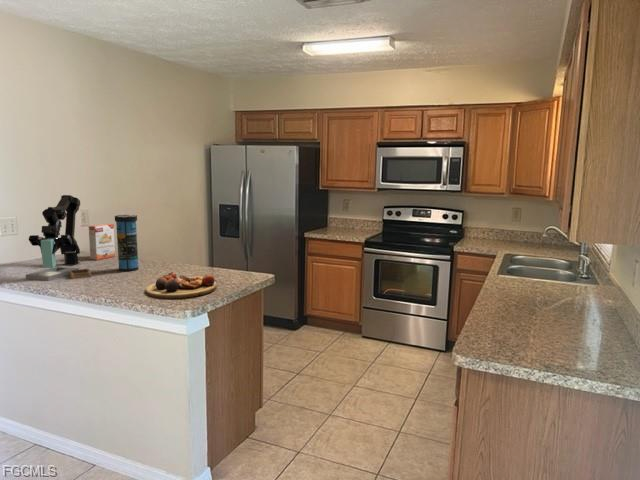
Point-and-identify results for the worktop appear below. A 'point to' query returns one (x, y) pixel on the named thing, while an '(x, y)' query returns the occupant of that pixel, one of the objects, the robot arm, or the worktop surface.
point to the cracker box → (101, 241)
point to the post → (48, 253)
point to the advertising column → (127, 242)
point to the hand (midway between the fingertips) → (47, 253)
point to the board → (50, 273)
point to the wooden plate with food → (181, 286)
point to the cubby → (80, 273)
